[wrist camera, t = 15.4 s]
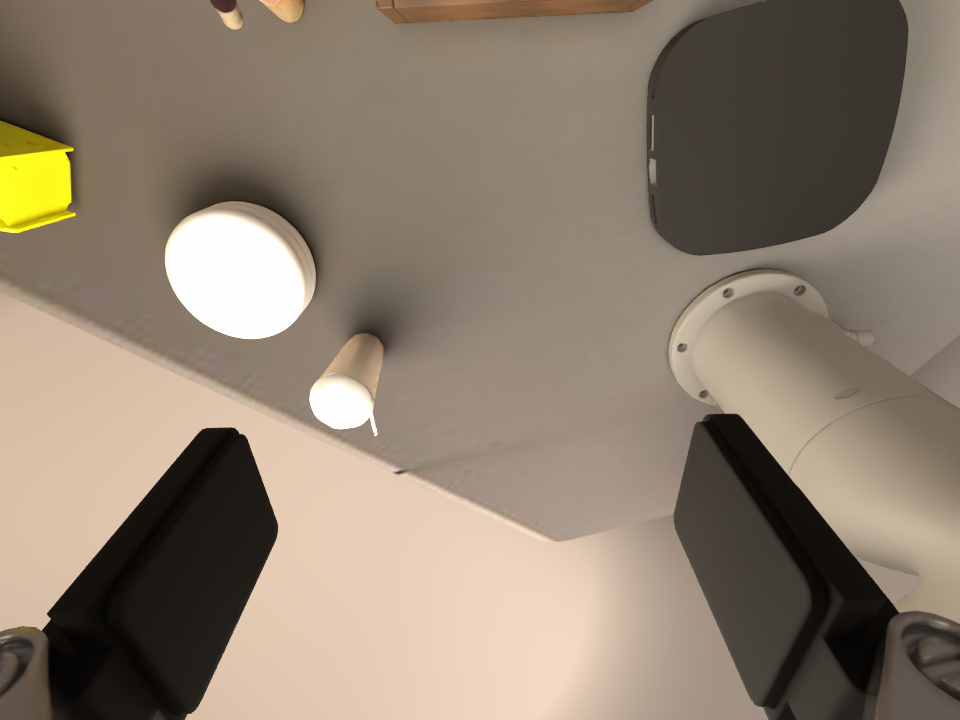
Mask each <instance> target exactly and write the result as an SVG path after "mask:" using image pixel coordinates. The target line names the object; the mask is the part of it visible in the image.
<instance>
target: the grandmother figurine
mask: <svg viewBox="0 0 960 720" xmlns="http://www.w3.org/2000/svg"><path fill="white" fill-rule="evenodd" d="M210 1H211V3H212V5H213V6H214V8H216V9H217V11H218V13H219V14H220V15H221V16H222V19H223V21H224V23H225V24H226V25H227V26H228V27H229V28H231V29H239V28H241V27H242V25H243V16H242V14H241V12H240V11H239V8H238V6H237V3H236V0H210ZM259 1H261V2H262V3H263V4H264V5H265V6H266V7H268V8H269V9H270V10H271V11H272V12H274V13H275V14H276V15H277V16H278V17H280V18H281V19H282V20H284V21H286V22H291V23H293V22H296V21H297V20H299V18H300V17H301V15H302V12H303V8H304V1H303V0H259Z"/></svg>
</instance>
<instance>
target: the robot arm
mask: <svg viewBox="0 0 960 720" xmlns="http://www.w3.org/2000/svg"><path fill="white" fill-rule="evenodd" d="M725 289H726V290H725ZM724 290H725V291H724ZM874 341H875V336H874V333H873V332H872V331H871V330H851V331H846V330H845V329H843V328H842V327H840V326H839V325H837V324H836V323H834V322H832V321H831V320H829V313H828V309H827V306H826V302H825V301H824V299H823V298H822V296H821V294H820V293H819V291H817V290H816V289H815V288H814V287H813V286H812V285H811V284H810V283H808V282H807V281H805V280H803V279H802V278H800V277H798V276H796V275H793V274H791V273H788V272H785V271H779V270H773V269H764V270H752V271H747V272H742V273H738V274H736V275H733V276H731V277H728V278H725V279H723V280H721V281H720V282H718V283H716V284H714V285H712V286H711V287H709V288H708V289H706V290H705V291H704V292H703V293H701V294H700V295H699V296H697V297H696V298H695V299H694V300H693V302H692V303H691V304H690V305H689V306H688V307H687V308H686V309H685V310H684V312H683V313H682V315H681V316H680V318H679V319H678V321H677V323H676V325H675V327H674V329H673V332H672V334H671V338H670V343H669V356H668V358H669V363H670V368H671V370H672V372H673V375H674V377H675V379H676V380H677V381H678V383H679V384H680V386H681V387H682V388H683V389H684V390H685V391H686V392H687V393H688V394H689V395H690V396H692V397H693V398H695V399H697V400H699V401H701V402H704V403H707V404H710V405H714V406H720V408H721V409H722V410H723V412H724V413H725V414H708V415H706V416H705V417H704V419H703V421H702V422H697V423H696V424H695V427H694V431H693V435H692V439H691V443H690V448H689V452H688V456H687V460H686V465H685V469H684V473H683V477H682V482H681V486H680V490H679V494H678V499H677V503H676V507H675V511H674V525H675V529H676V532H677V534H678V536H679V539H680V541H681V543H682V545H683V548H684V550H685V552H686V555H687V557H688V559H689V561H690V563H691V566H692V568H693V570H694V573H695V575H696V577H697V579H698V582H699V584H700V586H701V588H702V591H703V593H704V595H705V598H706V599H707V602H708V604H709V607H710V609H711V611H712V613H713V615H714V618H715V620H716V622H717V625H718V627H719V629H720V631H721V634H722V636H723V638H724V640H725V643H726V645H727V647H728V650H729V652H730V654H731V656H732V658H733V661H734V663H735V665H736V667H737V670H738V672H739V674H740V677H741V679H742V681H743V683H744V686H745V688H746V690H747V693H748V695H749V696H750V698H751V700H752V701H753V703H754V704H755V705H757V706H760V707H763V708H764V710H765V712H766V715H767V717H768V719H769V720H960V409H959V408H958V407H956V406H955V405H953V404H951V403H949V402H948V401H946V400H944V399H943V398H941V397H940V396H938V395H937V394H935V393H934V392H932V391H931V390H929V389H928V388H926V387H925V386H923V385H922V384H920V383H919V382H917V381H916V380H914V379H912V378H911V377H910V376H908V375H907V374H905V373H904V372H902V371H901V370H899V369H898V368H896V367H895V366H893V365H892V364H890V363H889V362H887V361H886V360H884V359H883V358H881V357H880V356H878V355H876V354H875V353H873V352H872V351H870V350H869V349H867V348H866V347H870V346H872V345H873V343H874ZM277 534H278V524H277V520H276V517H275V515H274V512H273V509H272V506H271V504H270V501H269V498H268V495H267V492H266V490H265V487H264V484H263V482H262V479H261V476H260V473H259V470H258V468H257V465H256V462H255V459H254V456H253V454H252V451H251V448H250V445H249V443H248V440H247V438H246V437H245V435H243V434H239V432H238V431H237V430H236V429H235V428H206V429H203V430H201V431H200V432H199V433H198V434H197V436H196V437H195V438H194V439H193V440H192V441H191V443H190V444H189V445H188V446H187V447H186V449H185V450H184V451H183V452H182V453H181V455H180V456H179V457H178V458H177V459H176V461H175V462H174V463H173V464H172V465H171V466H170V468H169V469H168V470H167V471H166V472H165V474H164V475H163V476H162V477H161V478H160V480H159V481H158V482H157V483H156V484H155V486H154V487H153V488H152V489H151V490H150V491H149V493H148V494H147V495H146V496H145V497H144V499H143V500H142V501H141V502H140V503H139V505H138V506H137V507H136V508H135V509H134V511H133V512H132V513H131V514H130V515H129V517H128V518H127V519H126V520H125V521H124V522H123V524H122V525H121V526H120V527H119V528H118V530H117V531H116V532H115V533H114V534H113V536H112V537H111V538H110V539H109V540H108V541H107V543H106V544H105V545H104V546H103V548H102V549H101V550H100V551H99V552H98V554H97V555H96V556H95V557H94V558H93V559H92V561H91V562H90V563H89V564H88V565H87V566H86V568H85V569H84V570H83V571H82V572H81V574H80V575H79V576H78V577H77V578H76V580H75V581H74V582H73V583H72V584H71V586H70V587H69V588H68V589H67V590H66V591H65V593H64V594H63V595H62V596H61V597H60V599H59V600H58V601H57V602H56V603H55V605H54V606H53V607H52V608H51V609H50V611H49V612H48V613H47V615H48V616H49V617H50V618H51V620H50V621H49V623H48V624H47V625H46V626H45V627H44V629H43V630H42V631H40V630H39V629H37V628H35V627H24V626H22V627H17V628H13V629H8V630H4V631H2V632H0V720H185V718H186V716H187V714H191V713H192V712H194V711H195V710H196V708H197V707H198V706H199V704H200V702H201V700H202V698H203V696H204V694H205V692H206V690H207V687H208V685H209V683H210V681H211V679H212V677H213V674H214V672H215V670H216V668H217V666H218V663H219V661H220V659H221V657H222V655H223V653H224V651H225V649H226V646H227V644H228V642H229V640H230V638H231V636H232V634H233V631H234V629H235V627H236V625H237V623H238V621H239V619H240V616H241V614H242V612H243V610H244V607H245V606H246V603H247V601H248V599H249V597H250V595H251V593H252V590H253V588H254V586H255V584H256V582H257V580H258V577H259V575H260V573H261V571H262V569H263V567H264V565H265V562H266V560H267V558H268V556H269V554H270V552H271V550H272V547H273V545H274V543H275V541H276V538H277ZM854 556H855V557H857V558H860V559H862V560H865V561H868V562H870V563H873V564H876V565H879V566H882V567H886V568H889V569H893V570H897V571H901V572H904V573H908V574H912V575H916V576H919V581H918V583H917V585H916V587H915V588H914V589H913V590H912V591H911V592H910V593H908V594H907V595H906V596H904V597H903V598H901V599H900V600H899V601H897V602H896V603H895V604H892V603H891V602H890V600H889V599H888V598H887V596H886V595H885V594H884V593H883V591H882V590H881V589H880V588H879V587H878V585H877V584H876V583H875V582H874V580H873V579H872V578H871V577H870V575H869V574H868V573H867V572H866V570H865V569H864V568H863V567H862V565H861V564H860V563H859V562H858V561H857V559H856V558H855V557H854Z"/></svg>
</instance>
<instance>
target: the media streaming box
mask: <svg viewBox="0 0 960 720" xmlns="http://www.w3.org/2000/svg"><path fill="white" fill-rule="evenodd" d="M907 42H908V24H907V19H906V15H905V12H904V9H903V7H902V5H901V3H900V1H899V0H767V1H763V2H760V3H756V4H752V5H749V6H745V7H741V8H738V9H734V10H731V11H728V12H724V13H721V14H718V15H715V16H711V17H708V18H705V19H702V20H699V21H697V22H694V23H692V24H690V25H689V26H687V27H686V28H684V29H683V30H682V31H680V32H679V33H678V34H677V35H676V36H675V37H673V39H672V40H671V41H670V42H669V43H668V44H667V45H666V47H665V48H664V49H663V51H662V52H661V54H660V56H659V57H658V59H657V61H656V63H655V65H654V68H653V70H652V73H651V77H650V80H649V85H648V109H647V162H648V187H649V203H650V215H651V220H652V223H653V225H654V227H655V229H656V231H657V232H658V233H659V234H660V235H661V237H663V238H664V239H665V240H666V241H667V242H669V243H670V244H671V245H672V246H674V247H675V248H677V249H678V250H680V251H683V252H685V253H688V254H692V255H700V256H701V255H713V254H723V253H731V252H739V251H746V250H752V249H758V248H764V247H769V246H774V245H779V244H783V243H788V242H792V241H796V240H800V239H804V238H808V237H811V236H815V235H818V234H822V233H825V232H827V231H829V230H831V229H833V228H834V227H836V226H838V225H839V224H840V223H842V222H843V221H845V220H846V219H847V218H848V217H849V216H851V215H852V214H853V213H854V212H855V211H856V210H857V209H858V208H859V207H860V205H861V204H862V203H863V202H864V201H865V199H866V198H867V197H868V195H869V194H870V193H871V191H872V189H873V188H874V186H875V184H876V182H877V180H878V177H879V175H880V172H881V169H882V166H883V163H884V160H885V157H886V154H887V151H888V147H889V144H890V140H891V137H892V133H893V129H894V125H895V121H896V117H897V112H898V107H899V102H900V97H901V92H902V85H903V79H904V72H905V64H906V54H907Z"/></svg>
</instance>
